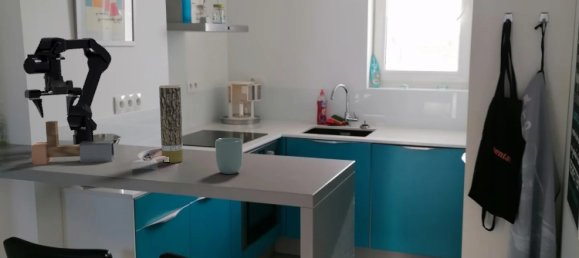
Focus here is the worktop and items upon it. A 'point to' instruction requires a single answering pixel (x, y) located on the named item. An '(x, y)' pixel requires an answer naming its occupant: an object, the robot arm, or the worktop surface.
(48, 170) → the worktop surface
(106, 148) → the sleeve
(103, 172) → the worktop surface
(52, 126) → the wooden l-shaped block
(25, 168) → the worktop surface
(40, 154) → the light brown block
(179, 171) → the worktop surface
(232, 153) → the cup
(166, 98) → the speckled tall cylinder
